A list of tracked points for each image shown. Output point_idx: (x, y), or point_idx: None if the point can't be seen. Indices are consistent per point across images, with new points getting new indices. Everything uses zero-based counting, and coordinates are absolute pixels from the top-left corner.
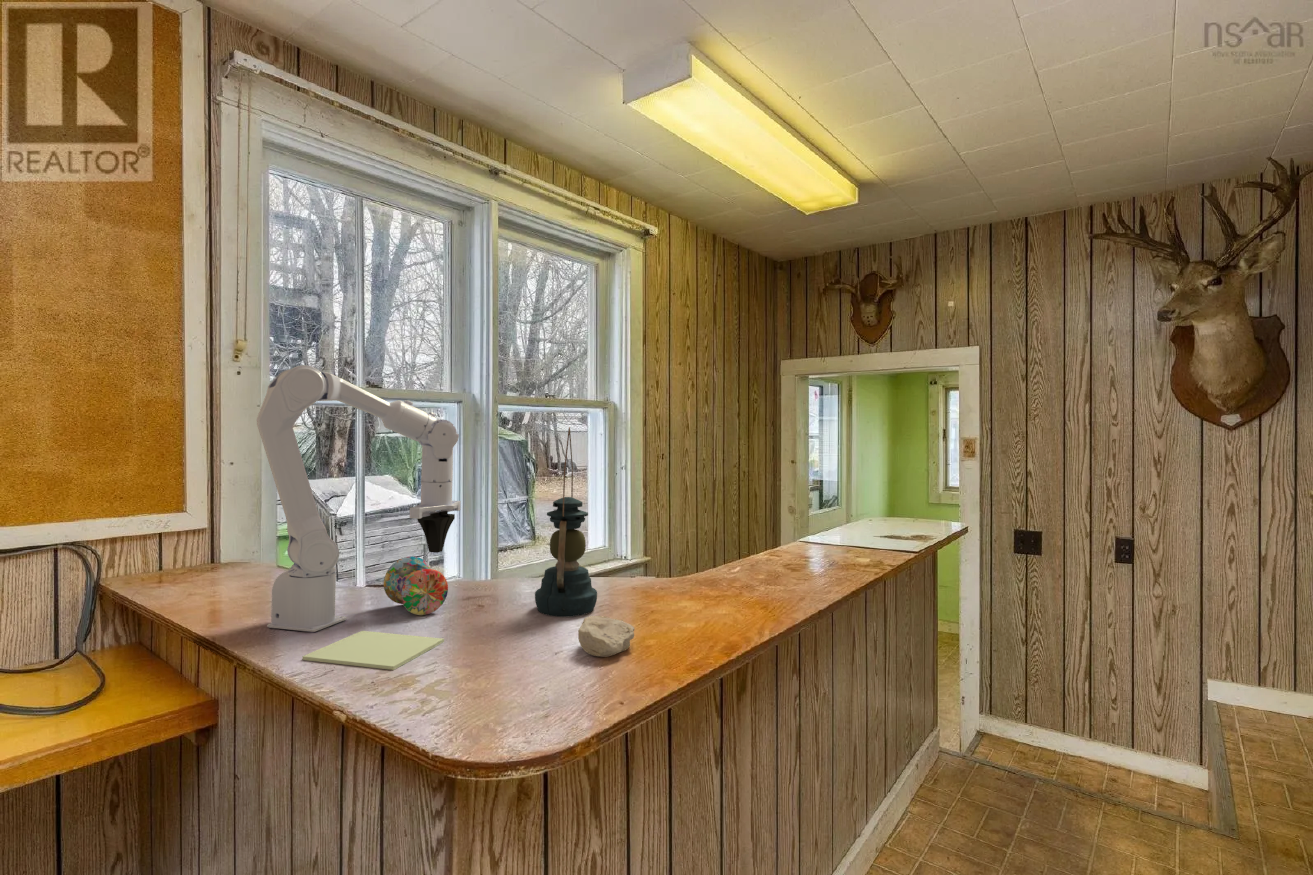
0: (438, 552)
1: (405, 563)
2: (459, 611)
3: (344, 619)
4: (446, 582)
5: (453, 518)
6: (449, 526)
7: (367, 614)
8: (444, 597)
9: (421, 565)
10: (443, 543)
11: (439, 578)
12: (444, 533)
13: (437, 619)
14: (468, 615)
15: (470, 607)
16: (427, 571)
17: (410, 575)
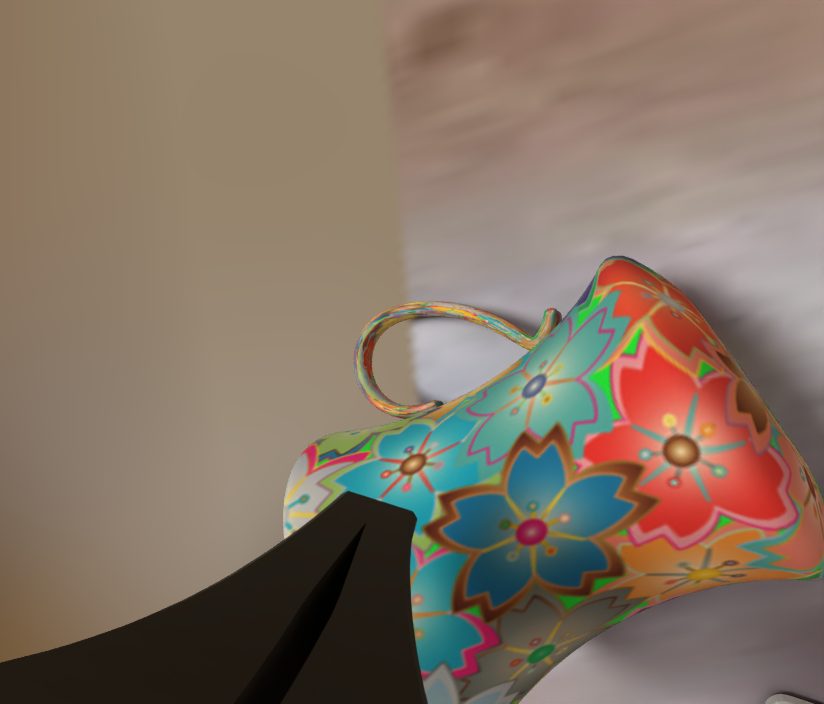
0: (413, 512)
1: (464, 688)
2: (594, 147)
3: (800, 701)
4: (637, 285)
5: (15, 692)
6: (150, 629)
7: (653, 625)
8: (642, 264)
9: (437, 570)
10: (330, 530)
11: (699, 347)
12: (291, 610)
13: (800, 237)
14: (707, 47)
15: (487, 101)
16: (774, 473)
17: (706, 582)
